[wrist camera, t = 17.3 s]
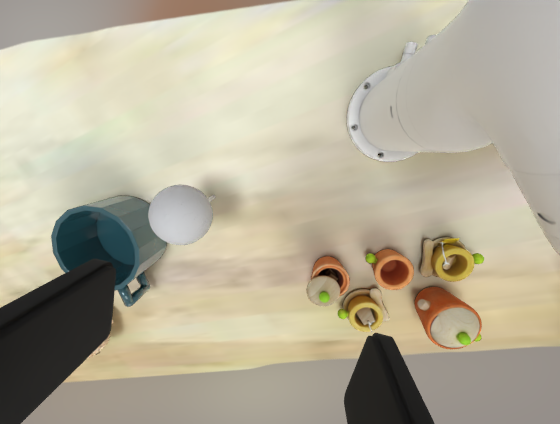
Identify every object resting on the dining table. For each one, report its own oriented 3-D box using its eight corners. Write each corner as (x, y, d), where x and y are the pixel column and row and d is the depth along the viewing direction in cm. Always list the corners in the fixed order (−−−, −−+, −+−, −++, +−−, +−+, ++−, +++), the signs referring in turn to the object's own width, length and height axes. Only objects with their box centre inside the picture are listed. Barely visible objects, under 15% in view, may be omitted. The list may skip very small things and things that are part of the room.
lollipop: (183, 196, 42) (121, 222, 28) (211, 165, 40) (161, 175, 26) (215, 226, 43) (172, 267, 28) (244, 197, 41) (213, 223, 27)
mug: (82, 206, 44) (35, 219, 36) (150, 186, 42) (116, 195, 34) (122, 292, 47) (87, 320, 40) (186, 277, 46) (162, 303, 38)
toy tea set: (470, 230, 40) (522, 255, 30) (468, 317, 43) (514, 364, 34) (302, 247, 43) (302, 275, 33) (312, 328, 46) (315, 373, 37)
